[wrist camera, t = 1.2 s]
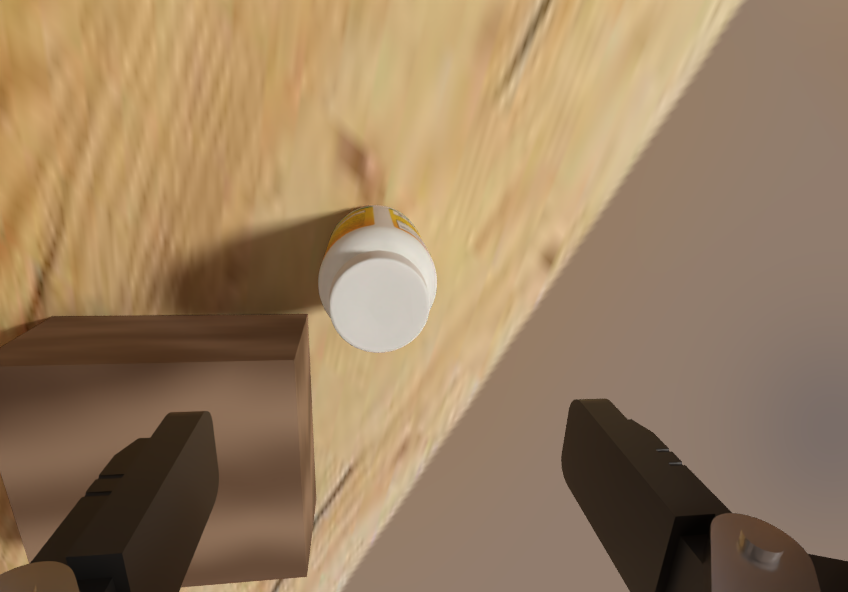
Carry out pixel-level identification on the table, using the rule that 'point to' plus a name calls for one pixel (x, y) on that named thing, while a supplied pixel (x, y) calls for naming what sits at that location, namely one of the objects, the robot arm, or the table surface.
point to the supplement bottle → (377, 279)
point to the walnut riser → (144, 411)
